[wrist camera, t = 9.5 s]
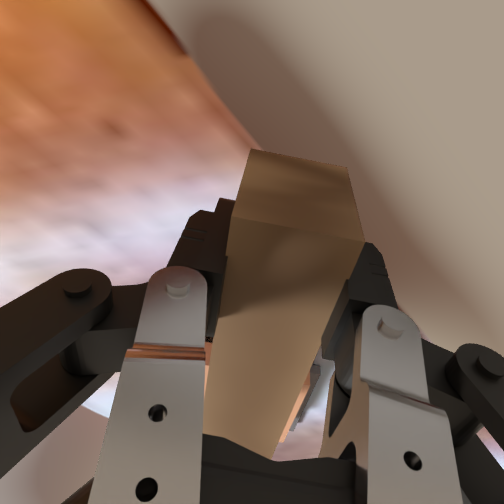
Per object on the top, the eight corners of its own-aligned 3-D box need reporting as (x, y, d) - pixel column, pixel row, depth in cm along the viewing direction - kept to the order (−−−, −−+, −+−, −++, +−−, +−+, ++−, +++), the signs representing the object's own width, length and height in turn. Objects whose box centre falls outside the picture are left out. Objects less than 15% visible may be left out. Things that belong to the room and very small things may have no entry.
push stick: (206, 415, 21) (190, 494, 18) (251, 148, 11) (230, 215, 8) (258, 424, 21) (250, 505, 18) (346, 167, 11) (365, 241, 8)
